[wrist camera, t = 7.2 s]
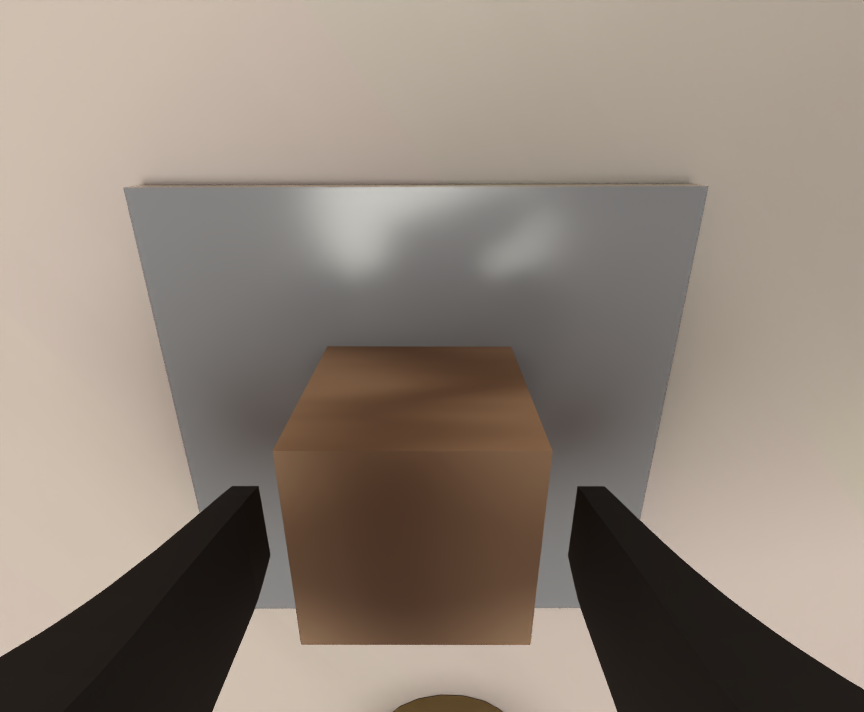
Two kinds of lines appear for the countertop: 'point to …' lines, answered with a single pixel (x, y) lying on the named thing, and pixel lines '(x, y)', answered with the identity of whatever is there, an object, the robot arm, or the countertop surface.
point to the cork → (447, 705)
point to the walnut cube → (414, 497)
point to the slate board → (420, 317)
